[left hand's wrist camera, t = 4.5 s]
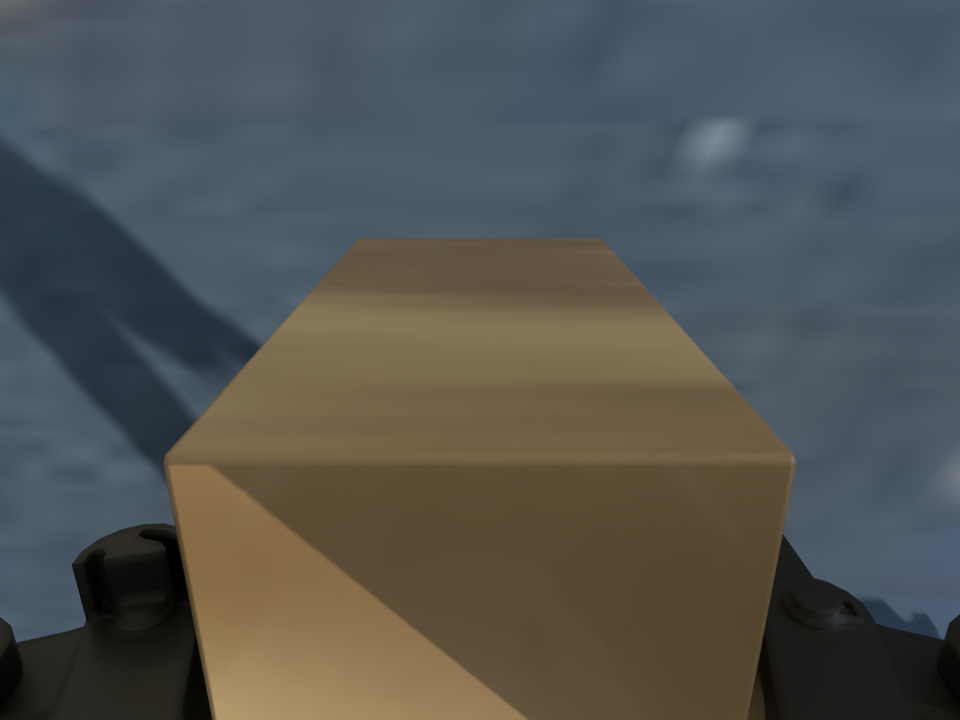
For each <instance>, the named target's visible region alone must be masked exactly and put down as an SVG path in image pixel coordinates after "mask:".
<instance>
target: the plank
mask: <svg viewBox="0 0 960 720" xmlns="http://www.w3.org/2000/svg"><path fill="white" fill-rule="evenodd" d="M795 468H796V461H795V457H794V454H793V453H792V452H791V451H790V449H789V448H788V447H787V446H786V445H785V444H784V443H783V442H782V441H781V439H780V438H779V437H778V436H777V435H776V434H775V433H774V432H773V430H772V429H771V428H770V427H769V426H768V425H767V424H766V423H765V421H764V420H763V419H762V418H761V417H760V416H759V415H758V414H757V412H756V411H755V410H754V409H753V408H752V407H751V406H750V405H749V403H748V402H747V401H746V400H745V399H744V398H743V397H742V396H741V394H740V393H739V392H738V391H737V390H736V389H735V388H734V387H733V385H732V384H731V383H730V382H729V381H728V380H727V379H726V378H725V376H724V375H723V374H722V373H721V372H720V371H719V370H718V369H717V367H716V366H715V365H714V364H713V363H712V362H711V361H710V360H709V358H708V357H707V356H706V355H705V354H704V353H703V352H702V351H701V349H700V348H699V347H698V346H697V345H696V344H695V343H694V342H693V340H692V339H691V338H690V337H689V336H688V335H687V334H686V333H685V331H684V330H683V329H682V328H681V327H680V326H679V325H678V324H677V323H676V321H675V320H674V319H673V318H672V317H671V316H670V315H669V314H668V312H667V311H666V310H665V309H664V308H663V307H662V306H661V305H660V303H659V302H658V301H657V300H656V299H655V298H654V297H653V296H652V294H651V293H650V292H649V291H648V290H647V289H646V288H645V287H644V285H643V284H642V283H641V282H640V281H639V280H638V279H637V278H636V276H635V275H634V274H633V273H632V272H631V271H630V270H629V269H628V267H627V266H626V265H625V264H624V263H623V262H622V261H621V260H620V258H619V257H618V256H617V255H616V254H615V253H614V252H613V251H612V249H611V248H610V247H609V246H608V245H607V244H606V243H605V242H604V240H602V239H600V238H360V239H358V240H356V241H355V243H354V244H353V245H352V246H351V247H350V248H349V249H348V250H347V252H346V253H345V254H344V255H343V256H342V257H341V258H340V259H339V261H338V262H337V263H336V264H335V265H334V266H333V267H332V268H331V269H330V271H329V272H328V273H327V274H326V275H325V276H324V277H323V278H322V280H321V281H320V282H319V283H318V284H317V285H316V286H315V287H314V289H313V290H312V291H311V292H310V293H309V294H308V295H307V296H306V298H305V299H304V300H303V301H302V302H301V303H300V304H299V305H298V306H297V308H296V309H295V310H294V311H293V312H292V313H291V314H290V315H289V317H288V318H287V319H286V320H285V321H284V322H283V323H282V324H281V326H280V327H279V328H278V329H277V330H276V331H275V332H274V333H273V335H272V336H271V337H270V338H269V339H268V340H267V341H266V342H265V343H264V345H263V346H262V347H261V348H260V349H259V350H258V351H257V352H256V354H255V355H254V356H253V357H252V358H251V359H250V360H249V361H248V363H247V364H246V365H245V366H244V367H243V368H242V369H241V370H240V371H239V373H238V374H237V375H236V376H235V377H234V378H233V379H232V380H231V382H230V383H229V384H228V385H227V386H226V387H225V388H224V389H223V391H222V392H221V393H220V394H219V395H218V396H217V397H216V398H215V400H214V401H213V402H212V403H211V404H210V405H209V406H208V407H207V408H206V410H205V411H204V412H203V413H202V414H201V415H200V416H199V417H198V419H197V420H196V421H195V422H194V423H193V424H192V425H191V426H190V428H189V429H188V430H187V431H186V432H185V433H184V434H183V435H182V437H181V438H180V439H179V440H178V441H177V442H176V443H175V444H174V445H173V447H172V448H171V449H170V450H169V451H168V452H167V453H166V455H165V459H164V470H165V475H166V481H167V486H168V491H169V496H170V501H171V507H172V512H173V517H174V522H175V527H176V533H177V538H178V543H179V548H180V554H181V559H182V564H183V569H184V574H185V580H186V585H187V590H188V595H189V600H190V606H191V611H192V616H193V621H194V626H195V632H196V637H197V642H198V647H199V652H200V658H201V663H202V668H203V673H204V678H205V684H206V689H207V694H208V699H209V704H210V710H211V715H212V720H747V718H748V712H749V707H750V702H751V697H752V692H753V686H754V681H755V676H756V671H757V666H758V660H759V655H760V650H761V645H762V639H763V634H764V629H765V624H766V619H767V613H768V608H769V603H770V598H771V593H772V587H773V582H774V577H775V572H776V567H777V561H778V556H779V551H780V546H781V541H782V535H783V530H784V525H785V520H786V514H787V509H788V504H789V499H790V494H791V488H792V483H793V478H794V473H795Z"/></svg>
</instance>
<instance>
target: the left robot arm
mask: <svg viewBox="0 0 960 720" xmlns="http://www.w3.org/2000/svg"><path fill="white" fill-rule="evenodd" d="M72 567H73V571H74V575H75V579H76V582H77V586H78V590H79V594H80V598H81V601H82V605H83V609H84V613H85V616H86V623H85V625H84V627H81V628H77V629H74V630H70V631H67V632H63V633H58V634H54V635H49V636H45V637H40V638H36V639H31V640H27V641H22V642H18V643H16V640H15V637H14V634H13V631H12V628H11V626H10V625H9V624H8V623H7V622H6V621H4V620H3V619H2V618H0V720H212V715H211V710H210V704H209V699H208V694H207V689H206V684H205V678H204V673H203V668H202V663H201V658H200V652H199V647H198V642H197V637H196V632H195V626H194V621H193V616H192V611H191V606H190V600H189V595H188V590H187V585H186V580H185V574H184V569H183V564H182V559H181V554H180V548H179V543H178V538H177V533H176V527H175V526H172V525H168V524H143V525H139V526H135V527H130V528H126V529H122V530H119V531H117V532H115V533H112V534H110V535H108V536H105V537H103V538H101V539H99V540H97V541H96V542H95V543H93V544H92V545H90V546H89V547H87V548H86V549H84V550H83V551H82V552H81V553H80V555H79V556H78V557H77V558H76V560H75V561H74V562H73V564H72ZM747 720H960V615H959V616H957V617H956V618H955V619H954V620H952V621H951V622H950V623H949V626H948V629H947V632H946V635H945V639H944V640H942V639H937V638H933V637H928V636H924V635H919V634H915V633H910V632H905V631H901V630H896V629H892V628H889V627H885V626H882V625H878V624H875V621H874V619H873V618H872V616H871V615H870V613H869V612H868V610H867V609H866V607H865V606H864V605H863V604H862V603H861V602H860V601H858V600H857V599H856V598H855V597H853V596H852V595H851V594H850V593H848V592H847V591H845V590H843V589H841V588H839V587H837V586H835V585H833V584H831V583H829V582H826V581H822V580H819V579H815V578H813V576H812V575H811V573H810V572H809V571H808V569H807V568H806V566H805V565H804V563H803V562H802V561H801V559H800V558H799V556H798V555H797V553H796V552H795V551H794V549H793V548H792V546H791V545H790V543H789V542H788V541H787V539H786V538H785V536H784V535H782V541H781V546H780V551H779V556H778V561H777V567H776V572H775V577H774V582H773V587H772V593H771V598H770V603H769V608H768V613H767V619H766V624H765V629H764V634H763V639H762V645H761V650H760V655H759V660H758V666H757V671H756V676H755V681H754V686H753V692H752V697H751V702H750V707H749V712H748V718H747Z"/></svg>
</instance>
